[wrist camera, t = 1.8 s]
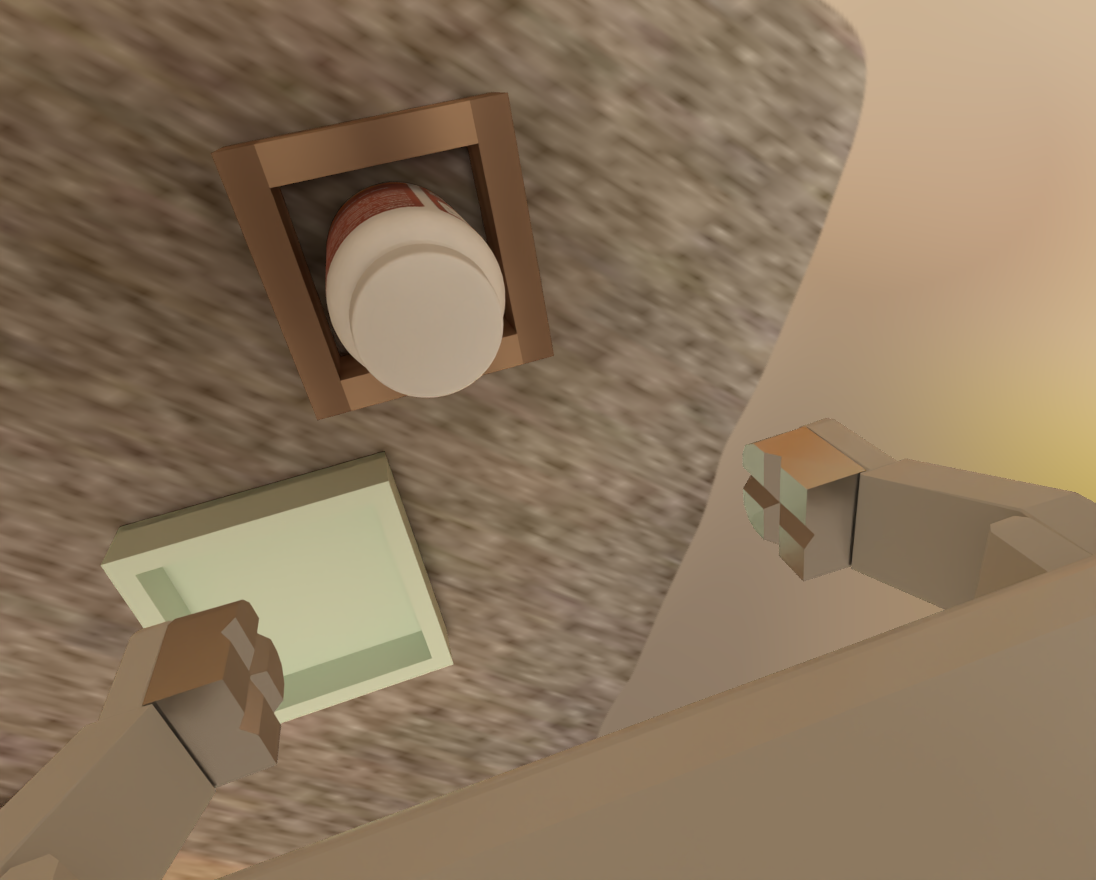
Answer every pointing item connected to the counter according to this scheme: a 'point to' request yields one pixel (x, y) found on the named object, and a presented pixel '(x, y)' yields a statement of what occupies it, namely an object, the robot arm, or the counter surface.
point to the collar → (363, 144)
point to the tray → (298, 579)
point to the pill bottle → (413, 290)
